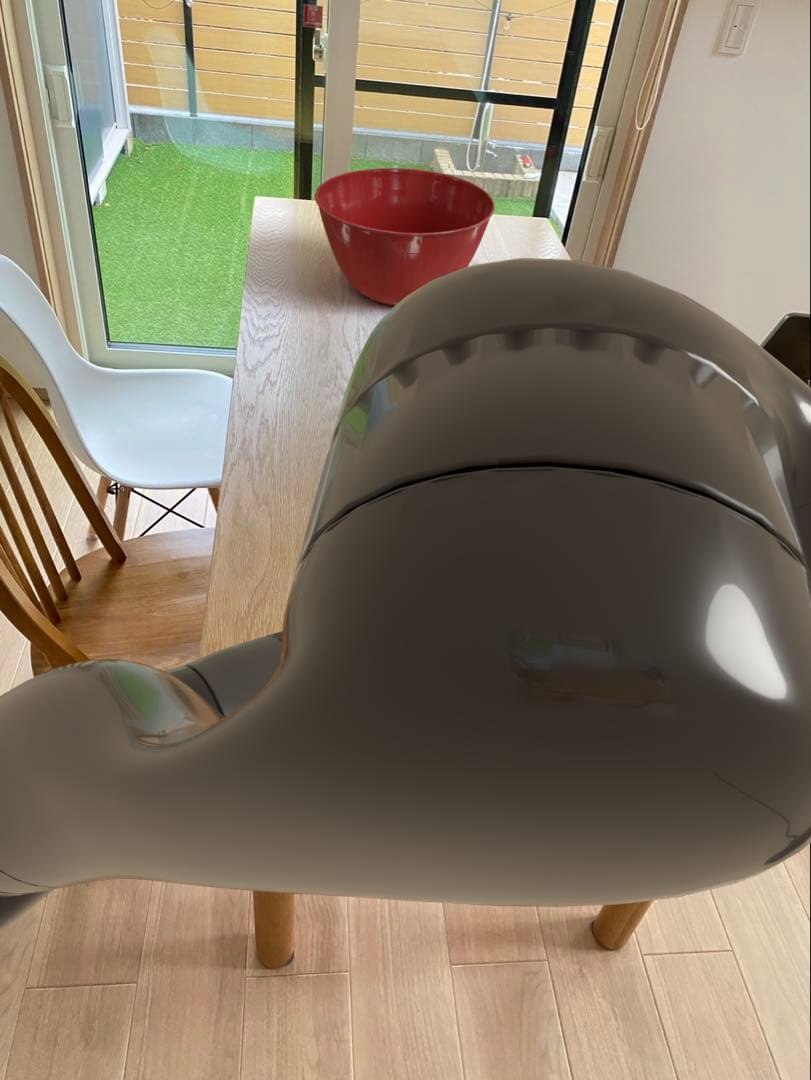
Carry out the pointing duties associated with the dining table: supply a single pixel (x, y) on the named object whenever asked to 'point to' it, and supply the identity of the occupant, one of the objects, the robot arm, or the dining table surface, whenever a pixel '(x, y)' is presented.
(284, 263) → the dining table surface
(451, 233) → the mixing bowl
